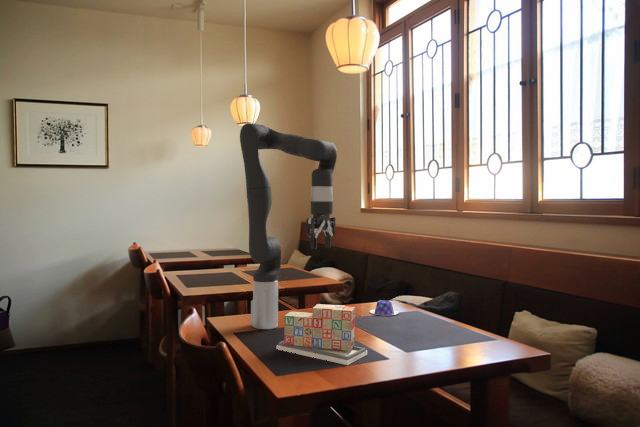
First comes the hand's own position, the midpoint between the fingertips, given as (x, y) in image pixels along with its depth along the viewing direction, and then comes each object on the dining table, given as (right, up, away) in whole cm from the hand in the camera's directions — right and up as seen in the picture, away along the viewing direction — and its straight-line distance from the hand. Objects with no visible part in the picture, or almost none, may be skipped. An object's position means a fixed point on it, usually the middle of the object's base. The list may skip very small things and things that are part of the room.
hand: (321, 248), depth 166 cm
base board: (0, -31, -13) cm, 34 cm away
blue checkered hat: (+27, -31, +41) cm, 57 cm away
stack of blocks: (0, -30, -13) cm, 32 cm away
